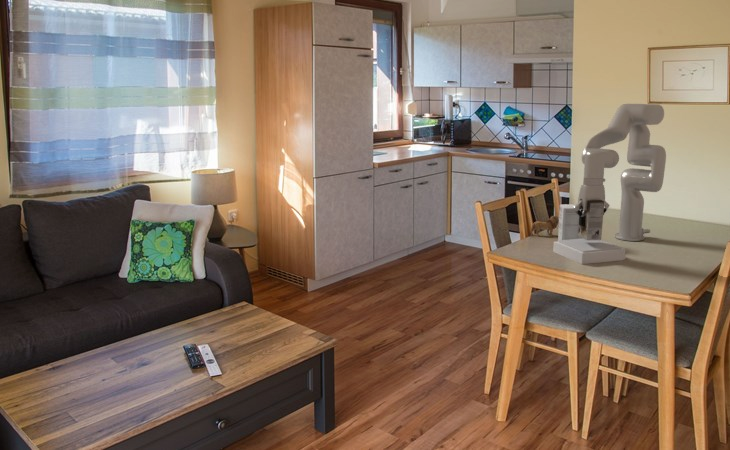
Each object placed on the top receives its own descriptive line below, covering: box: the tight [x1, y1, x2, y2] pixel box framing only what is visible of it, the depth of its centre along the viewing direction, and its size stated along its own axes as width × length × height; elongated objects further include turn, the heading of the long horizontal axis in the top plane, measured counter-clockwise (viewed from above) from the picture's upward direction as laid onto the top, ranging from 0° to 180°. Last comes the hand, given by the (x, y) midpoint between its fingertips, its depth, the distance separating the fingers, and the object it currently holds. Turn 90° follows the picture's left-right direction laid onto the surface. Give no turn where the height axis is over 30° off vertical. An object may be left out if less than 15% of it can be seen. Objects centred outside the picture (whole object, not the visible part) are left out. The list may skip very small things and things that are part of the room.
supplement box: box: [557, 203, 582, 241], centre depth 290 cm, size 10×9×17 cm
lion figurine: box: [528, 215, 559, 237], centre depth 306 cm, size 15×5×9 cm, turn 104°
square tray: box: [552, 238, 626, 265], centre depth 271 cm, size 20×20×5 cm
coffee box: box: [578, 200, 604, 240], centre depth 268 cm, size 9×6×16 cm
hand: (590, 225), depth 269 cm, fingers closed on coffee box, 7 cm apart
